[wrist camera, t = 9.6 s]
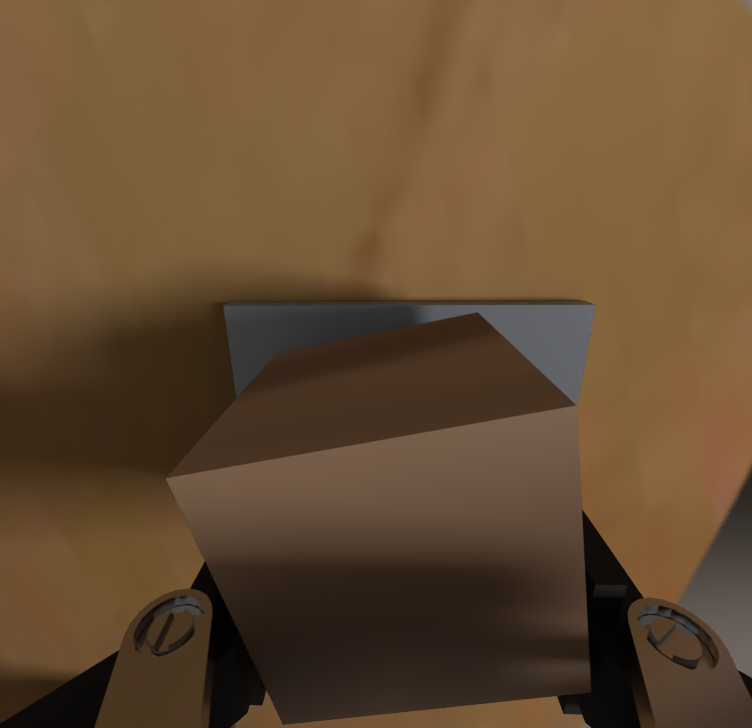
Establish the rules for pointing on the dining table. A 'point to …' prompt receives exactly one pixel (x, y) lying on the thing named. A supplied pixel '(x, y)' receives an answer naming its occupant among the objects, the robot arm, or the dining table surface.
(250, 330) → the plate
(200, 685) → the robot arm
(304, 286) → the dining table surface
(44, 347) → the dining table surface
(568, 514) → the walnut block
